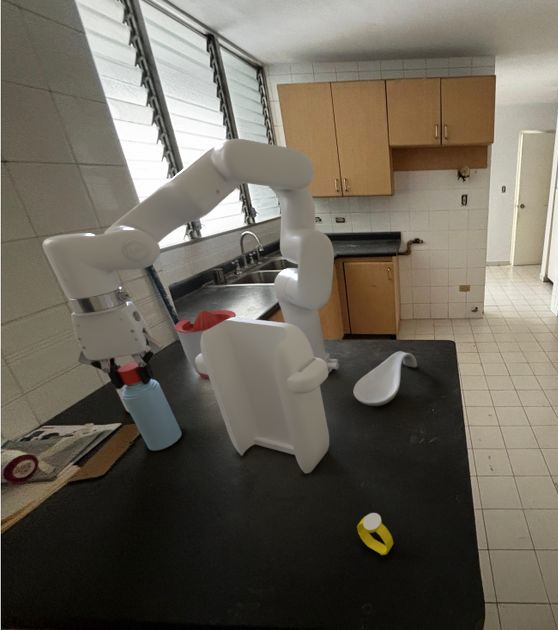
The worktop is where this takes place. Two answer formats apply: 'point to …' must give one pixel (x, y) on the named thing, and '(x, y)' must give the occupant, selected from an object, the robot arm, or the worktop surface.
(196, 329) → the citrus juicer
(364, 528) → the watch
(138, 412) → the water bottle
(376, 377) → the spoon rest
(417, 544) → the worktop surface
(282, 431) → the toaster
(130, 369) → the cap
